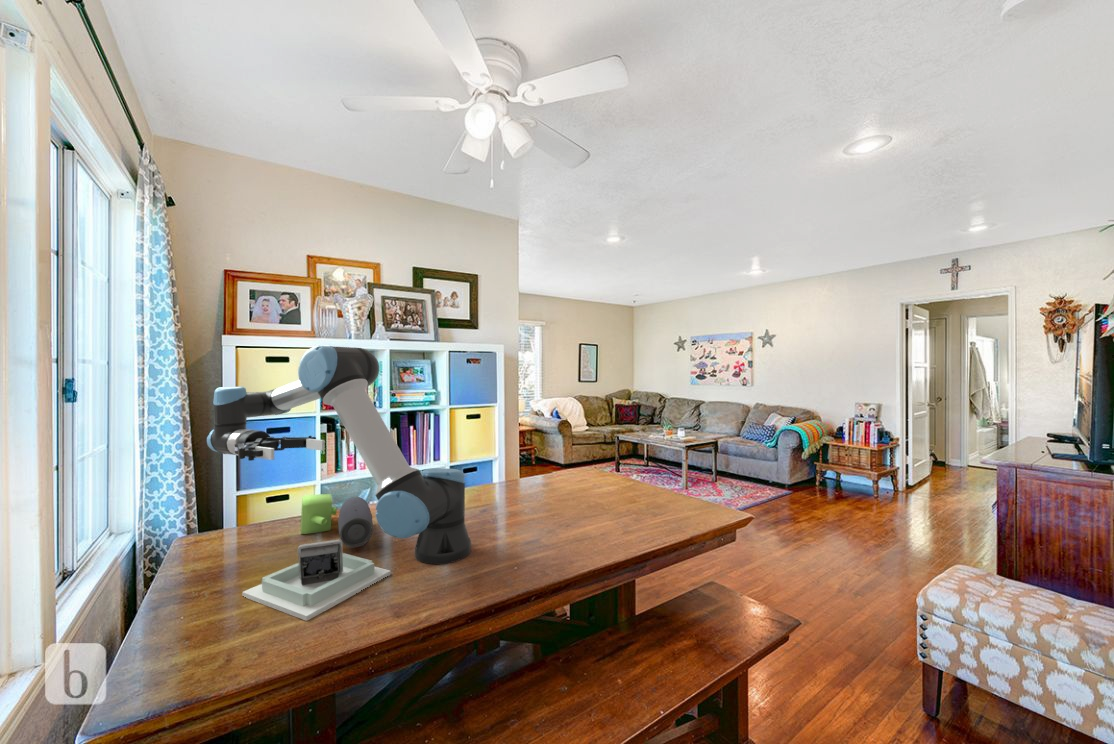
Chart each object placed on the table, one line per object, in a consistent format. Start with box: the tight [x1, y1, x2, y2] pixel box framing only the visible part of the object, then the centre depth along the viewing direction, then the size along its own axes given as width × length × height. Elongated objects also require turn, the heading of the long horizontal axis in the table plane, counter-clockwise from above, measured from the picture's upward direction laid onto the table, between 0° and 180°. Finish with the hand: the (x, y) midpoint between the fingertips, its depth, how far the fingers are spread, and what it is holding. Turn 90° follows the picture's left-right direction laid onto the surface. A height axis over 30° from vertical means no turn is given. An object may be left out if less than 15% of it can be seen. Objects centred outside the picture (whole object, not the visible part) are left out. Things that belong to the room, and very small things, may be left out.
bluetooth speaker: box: [337, 496, 374, 548], centre depth 132 cm, size 23×9×10 cm, turn 26°
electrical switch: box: [297, 538, 344, 585], centre depth 103 cm, size 9×5×9 cm, turn 113°
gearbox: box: [300, 493, 337, 535], centre depth 141 cm, size 18×10×10 cm, turn 29°
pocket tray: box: [241, 552, 392, 622], centre depth 104 cm, size 22×22×4 cm
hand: (299, 449), depth 114 cm, fingers open, 13 cm apart
